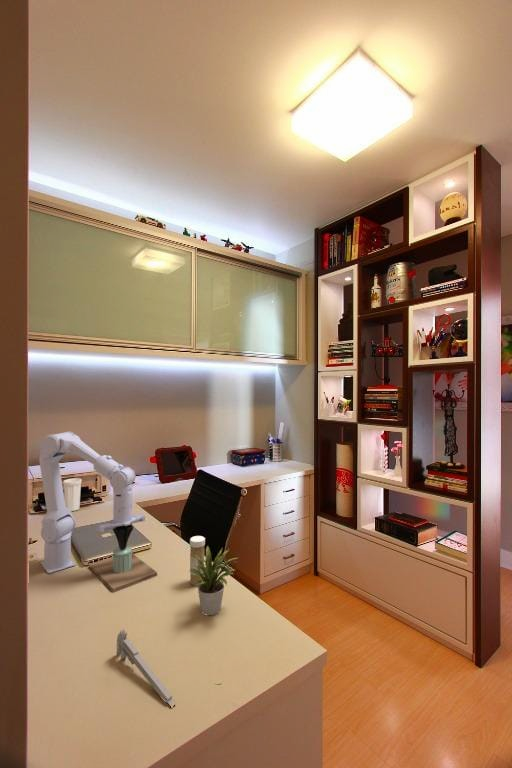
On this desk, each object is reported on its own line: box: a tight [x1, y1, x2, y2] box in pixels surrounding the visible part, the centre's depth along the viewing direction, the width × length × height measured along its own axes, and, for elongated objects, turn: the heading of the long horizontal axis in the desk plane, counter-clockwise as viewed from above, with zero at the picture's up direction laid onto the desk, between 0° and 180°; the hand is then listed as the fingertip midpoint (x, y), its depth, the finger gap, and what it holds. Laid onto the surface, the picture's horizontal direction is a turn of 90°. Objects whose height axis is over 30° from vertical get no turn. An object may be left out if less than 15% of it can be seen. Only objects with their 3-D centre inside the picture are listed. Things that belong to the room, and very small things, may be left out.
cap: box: [112, 545, 133, 573], centre depth 118 cm, size 6×6×6 cm
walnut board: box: [88, 553, 158, 593], centre depth 118 cm, size 20×14×1 cm
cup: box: [62, 477, 83, 512], centre depth 176 cm, size 8×8×14 cm
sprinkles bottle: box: [189, 535, 206, 587], centre depth 112 cm, size 5×5×14 cm
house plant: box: [188, 545, 240, 616], centre depth 96 cm, size 14×14×16 cm
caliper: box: [116, 628, 176, 707], centre depth 75 cm, size 20×1×6 cm, turn 49°
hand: (122, 548), depth 118 cm, fingers closed
